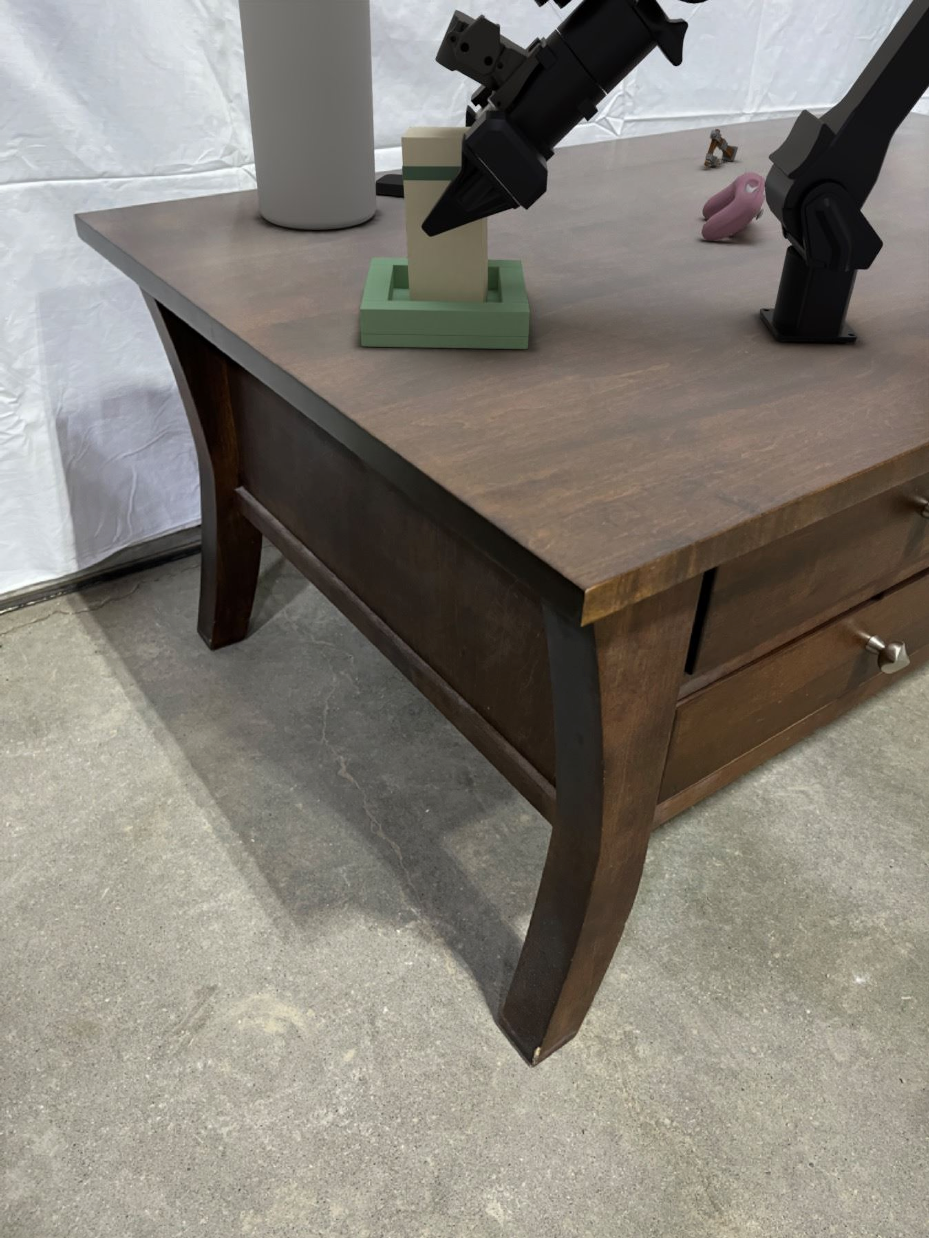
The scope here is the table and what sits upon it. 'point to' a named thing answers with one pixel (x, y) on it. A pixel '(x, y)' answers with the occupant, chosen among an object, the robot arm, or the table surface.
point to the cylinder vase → (311, 110)
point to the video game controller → (734, 207)
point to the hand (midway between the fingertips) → (428, 218)
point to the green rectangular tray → (444, 311)
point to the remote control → (390, 185)
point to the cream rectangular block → (452, 257)
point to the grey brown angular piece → (721, 143)
